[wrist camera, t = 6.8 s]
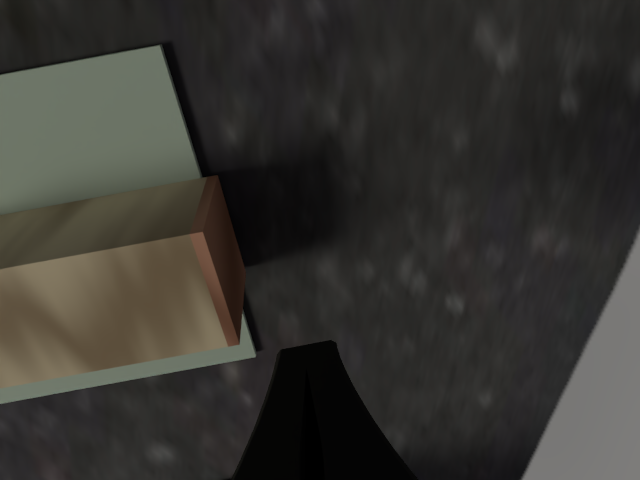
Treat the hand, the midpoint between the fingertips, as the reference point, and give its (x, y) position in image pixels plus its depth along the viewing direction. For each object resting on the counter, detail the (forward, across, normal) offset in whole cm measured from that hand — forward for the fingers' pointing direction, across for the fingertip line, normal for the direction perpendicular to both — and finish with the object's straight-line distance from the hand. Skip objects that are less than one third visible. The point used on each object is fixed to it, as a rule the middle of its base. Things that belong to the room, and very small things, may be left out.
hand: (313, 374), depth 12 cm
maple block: (+6, +3, 0) cm, 7 cm away
